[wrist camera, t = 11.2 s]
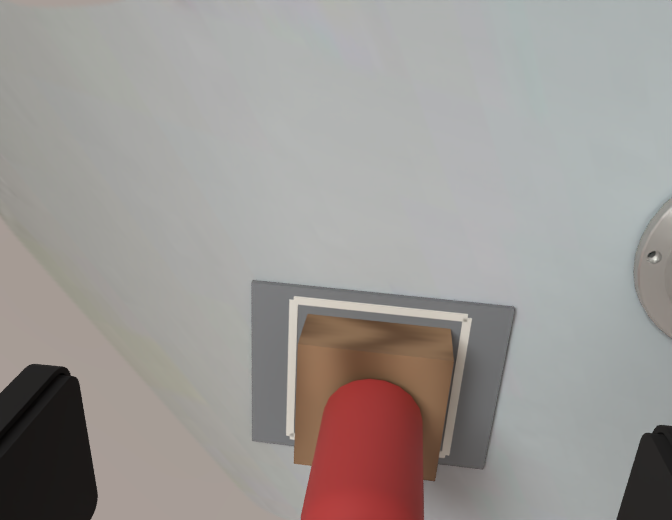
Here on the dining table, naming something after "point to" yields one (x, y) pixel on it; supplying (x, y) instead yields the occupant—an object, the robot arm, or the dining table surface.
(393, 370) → the walnut base block
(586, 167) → the dining table surface
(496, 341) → the grey mat
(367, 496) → the beer can
